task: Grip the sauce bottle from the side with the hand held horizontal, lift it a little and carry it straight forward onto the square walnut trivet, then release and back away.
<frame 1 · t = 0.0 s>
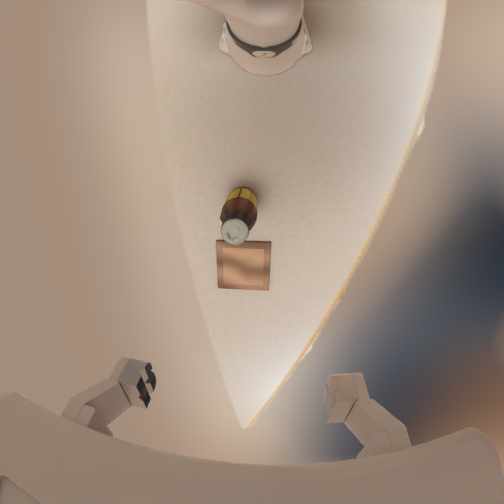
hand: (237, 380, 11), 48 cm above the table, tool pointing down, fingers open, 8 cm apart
sauce bottle: (243, 200, 57), on the table
trivet: (243, 265, 63), on the table
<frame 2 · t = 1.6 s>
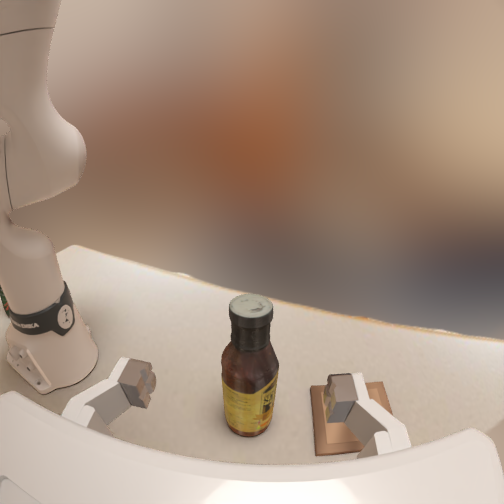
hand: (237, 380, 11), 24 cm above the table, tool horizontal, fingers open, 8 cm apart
sauce bottle: (248, 419, 32), on the table
trivet: (353, 417, 31), on the table
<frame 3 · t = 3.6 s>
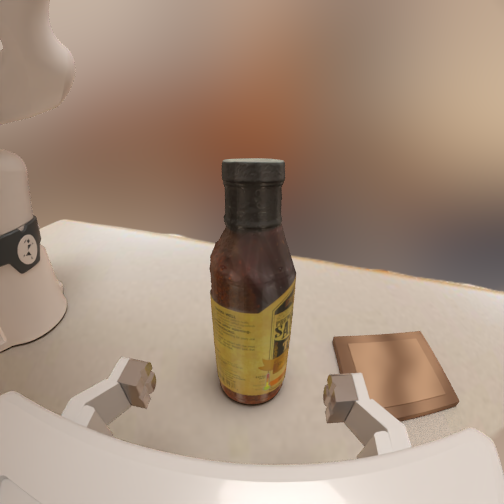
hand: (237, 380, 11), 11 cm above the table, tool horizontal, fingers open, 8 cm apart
sauce bottle: (251, 382, 24), on the table
trivet: (393, 375, 23), on the table
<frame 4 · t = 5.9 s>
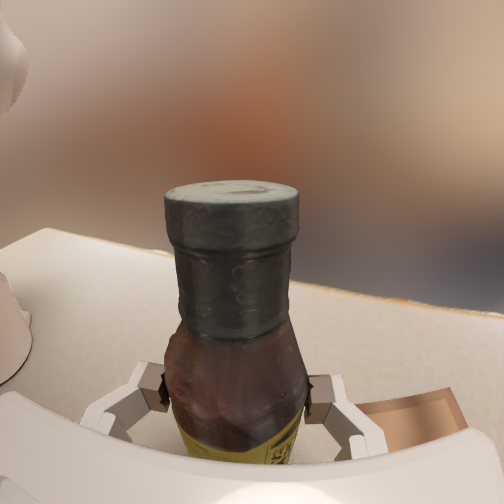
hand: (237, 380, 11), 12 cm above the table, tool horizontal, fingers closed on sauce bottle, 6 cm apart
sauce bottle: (241, 469, 15), on the table, touching gripper
trivet: (417, 450, 15), on the table
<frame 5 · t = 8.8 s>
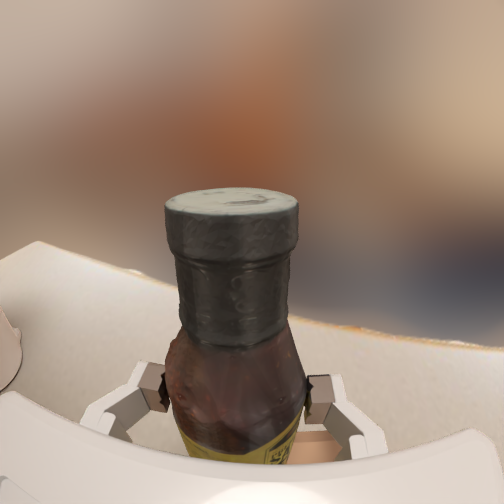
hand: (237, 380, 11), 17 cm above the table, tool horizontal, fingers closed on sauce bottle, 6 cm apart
sauce bottle: (240, 470, 16), point 5 cm above the table, touching gripper
trivet: (328, 481, 18), on the table
when the fingers open (14 cm above the table, at t = 11.7 s): sauce bottle stays where it is, resting on trivet.
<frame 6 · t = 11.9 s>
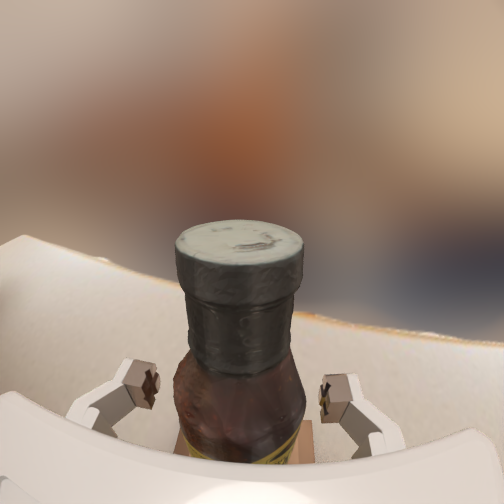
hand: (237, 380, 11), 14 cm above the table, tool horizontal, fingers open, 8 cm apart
sauce bottle: (241, 474, 16), point 1 cm above the table, touching trivet
trivet: (242, 476, 16), on the table
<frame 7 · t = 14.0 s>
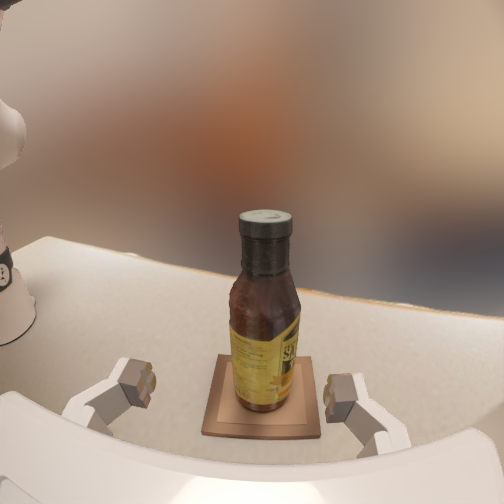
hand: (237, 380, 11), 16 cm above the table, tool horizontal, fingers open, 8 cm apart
sauce bottle: (262, 392, 28), point 1 cm above the table, touching trivet
trivet: (262, 396, 28), on the table
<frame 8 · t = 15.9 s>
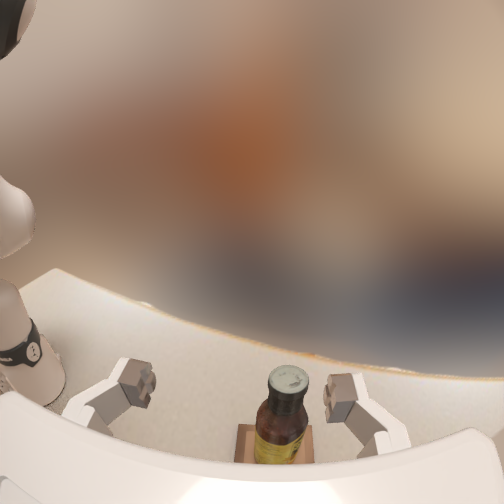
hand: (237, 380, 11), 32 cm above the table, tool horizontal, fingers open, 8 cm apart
sauce bottle: (274, 456, 32), point 1 cm above the table, touching trivet
trivet: (274, 457, 32), on the table
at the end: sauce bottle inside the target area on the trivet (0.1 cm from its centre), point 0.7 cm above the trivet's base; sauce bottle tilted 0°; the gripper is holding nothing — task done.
